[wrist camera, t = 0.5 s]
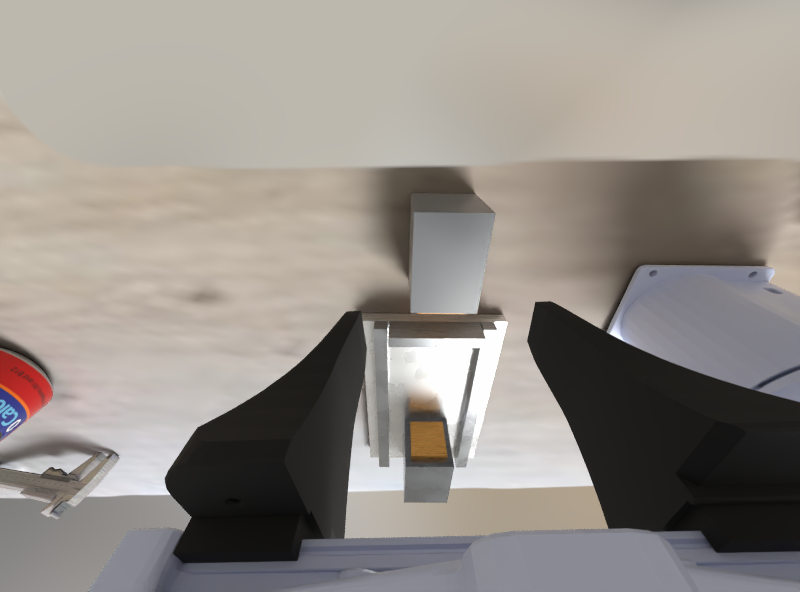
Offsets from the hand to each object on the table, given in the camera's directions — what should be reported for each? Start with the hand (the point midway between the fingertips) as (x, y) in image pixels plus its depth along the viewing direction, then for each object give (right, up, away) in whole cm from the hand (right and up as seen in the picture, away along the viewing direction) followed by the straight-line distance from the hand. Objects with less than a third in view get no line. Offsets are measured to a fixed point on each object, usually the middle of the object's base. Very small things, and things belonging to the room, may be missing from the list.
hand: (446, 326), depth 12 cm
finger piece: (+1, +5, +7) cm, 9 cm away
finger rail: (0, -8, +15) cm, 17 cm away
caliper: (-44, -17, +21) cm, 52 cm away
